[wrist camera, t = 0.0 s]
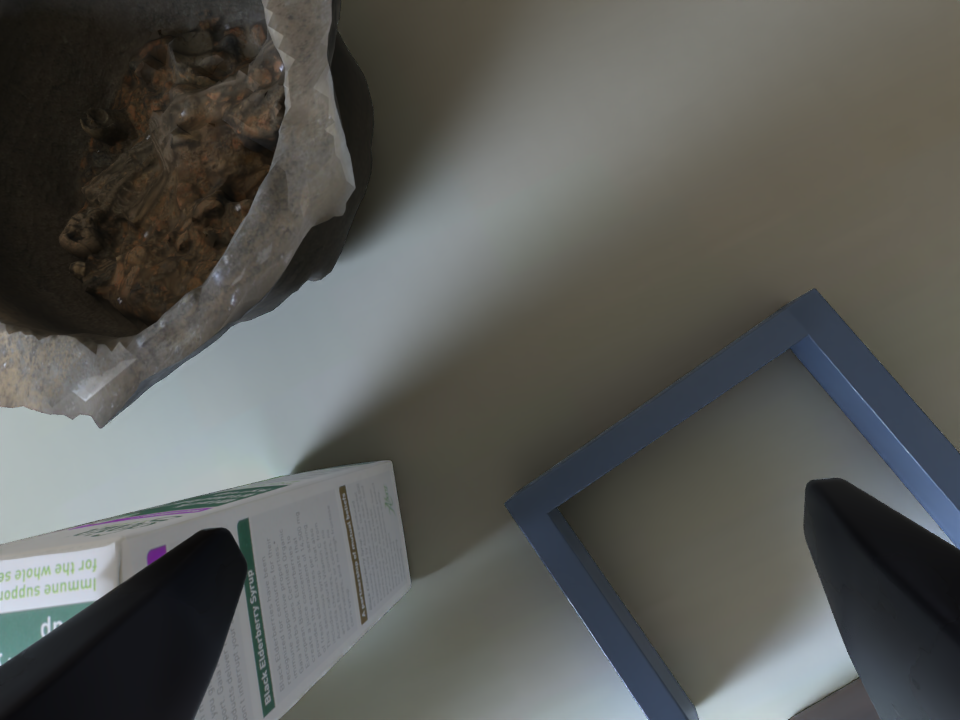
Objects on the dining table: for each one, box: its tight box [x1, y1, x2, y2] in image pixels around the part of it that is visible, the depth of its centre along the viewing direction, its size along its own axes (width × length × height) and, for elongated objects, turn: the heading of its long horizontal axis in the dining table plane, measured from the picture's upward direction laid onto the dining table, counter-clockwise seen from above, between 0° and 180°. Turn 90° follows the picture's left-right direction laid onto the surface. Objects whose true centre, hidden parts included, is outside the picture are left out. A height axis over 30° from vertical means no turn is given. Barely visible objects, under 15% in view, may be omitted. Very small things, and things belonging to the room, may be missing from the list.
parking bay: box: [505, 288, 960, 720], centre depth 20 cm, size 10×13×2 cm
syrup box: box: [0, 460, 411, 720], centre depth 18 cm, size 6×6×14 cm
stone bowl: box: [0, 0, 374, 428], centre depth 24 cm, size 25×25×9 cm
